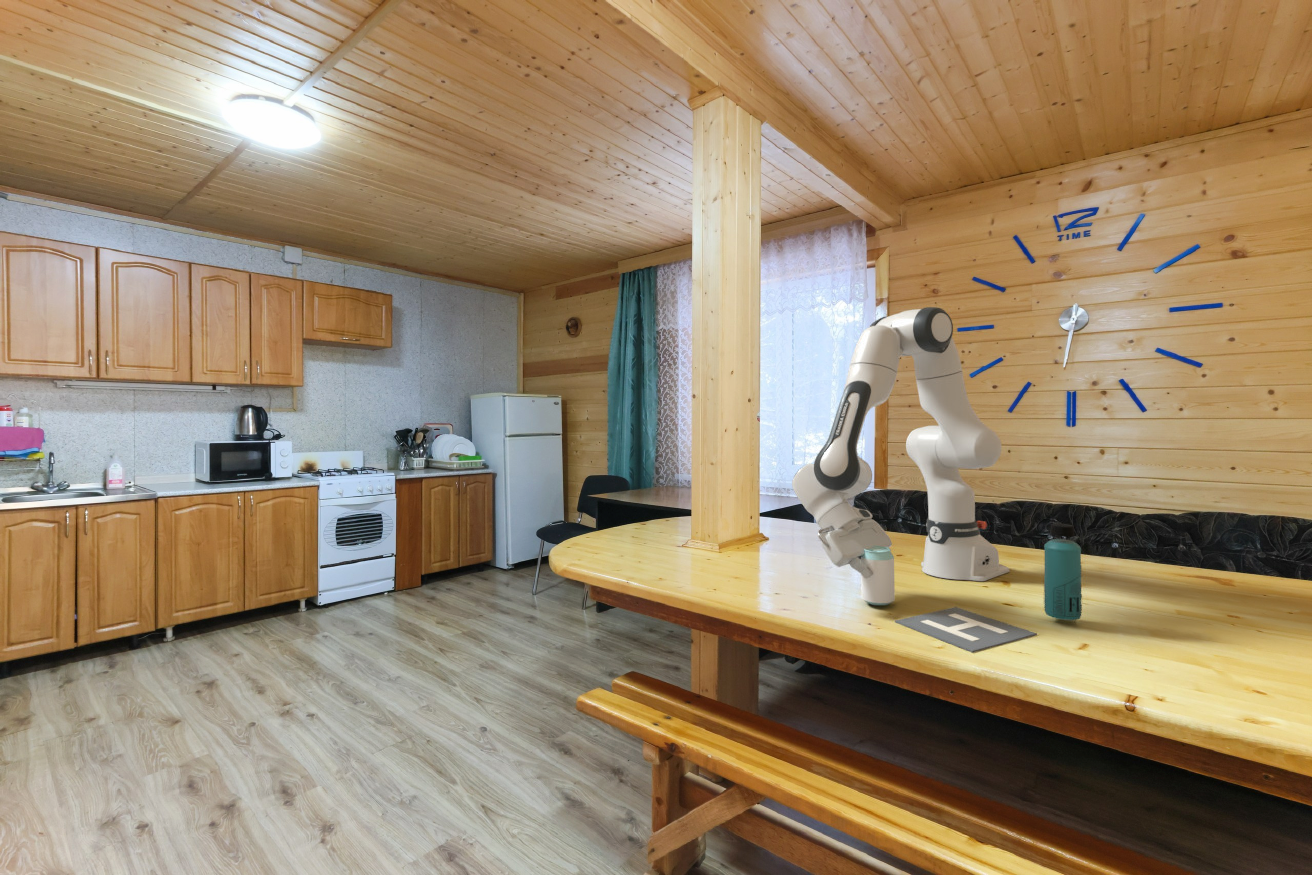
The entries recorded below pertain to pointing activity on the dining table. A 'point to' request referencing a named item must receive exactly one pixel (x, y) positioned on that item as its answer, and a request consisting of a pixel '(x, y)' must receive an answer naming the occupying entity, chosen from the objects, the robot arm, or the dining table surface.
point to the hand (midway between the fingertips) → (880, 572)
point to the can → (878, 576)
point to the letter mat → (965, 629)
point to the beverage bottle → (1062, 575)
